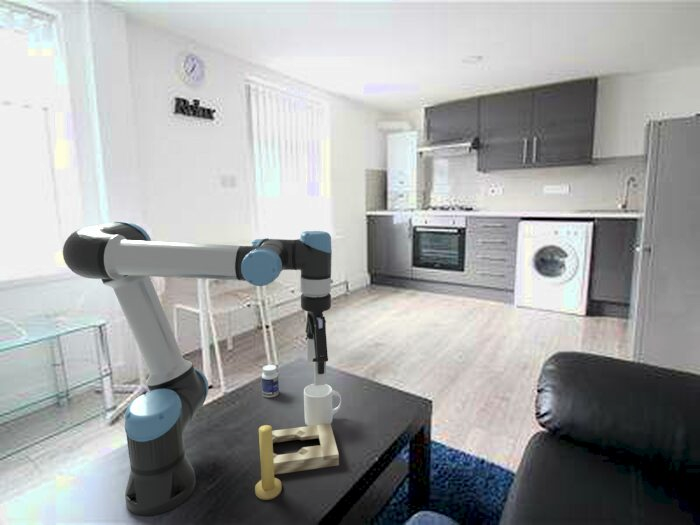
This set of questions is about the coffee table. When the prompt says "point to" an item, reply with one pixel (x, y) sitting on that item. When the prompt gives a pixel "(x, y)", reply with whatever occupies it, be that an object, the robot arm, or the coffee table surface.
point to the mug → (319, 404)
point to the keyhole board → (306, 449)
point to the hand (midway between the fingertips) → (315, 372)
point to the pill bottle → (270, 381)
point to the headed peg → (267, 467)
